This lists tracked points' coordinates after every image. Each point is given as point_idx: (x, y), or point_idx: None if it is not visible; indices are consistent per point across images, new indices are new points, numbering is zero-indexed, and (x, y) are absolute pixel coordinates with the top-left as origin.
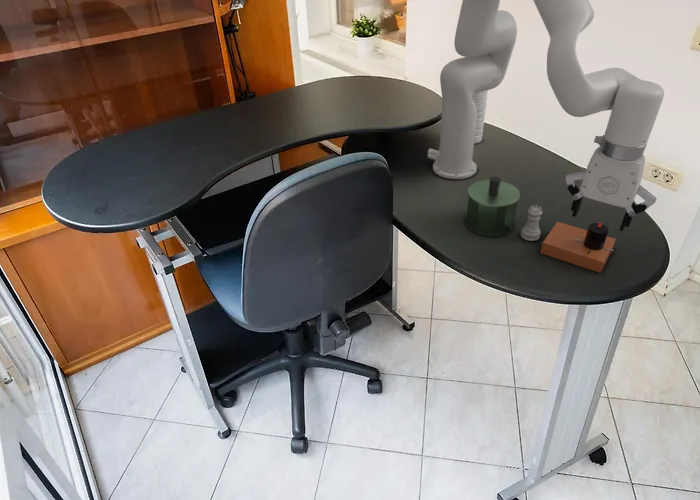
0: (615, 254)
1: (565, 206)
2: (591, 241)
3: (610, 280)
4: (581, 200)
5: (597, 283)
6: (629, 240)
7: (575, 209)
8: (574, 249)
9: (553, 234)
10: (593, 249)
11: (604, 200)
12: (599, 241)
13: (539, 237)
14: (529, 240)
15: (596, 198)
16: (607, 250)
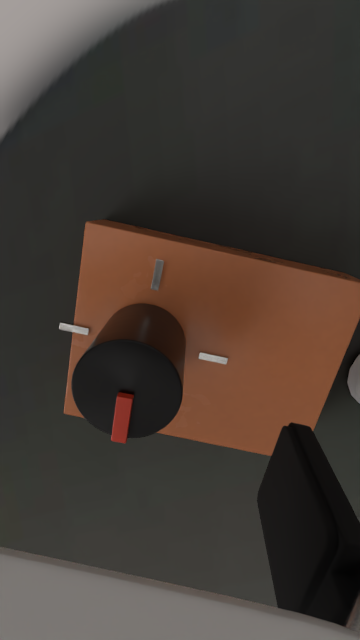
0: (67, 360)
1: (252, 569)
2: (154, 320)
3: (60, 182)
4: (294, 577)
5: (105, 138)
6: (37, 451)
7: (318, 466)
8: (222, 279)
9: (319, 366)
10: (140, 304)
11: (21, 607)
12: (115, 322)
13: (351, 369)
14: None
15: (176, 633)
16: (83, 321)
